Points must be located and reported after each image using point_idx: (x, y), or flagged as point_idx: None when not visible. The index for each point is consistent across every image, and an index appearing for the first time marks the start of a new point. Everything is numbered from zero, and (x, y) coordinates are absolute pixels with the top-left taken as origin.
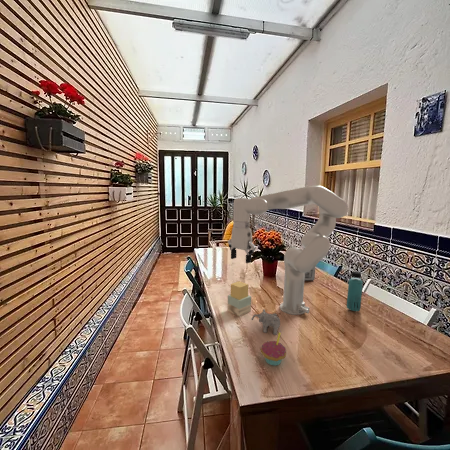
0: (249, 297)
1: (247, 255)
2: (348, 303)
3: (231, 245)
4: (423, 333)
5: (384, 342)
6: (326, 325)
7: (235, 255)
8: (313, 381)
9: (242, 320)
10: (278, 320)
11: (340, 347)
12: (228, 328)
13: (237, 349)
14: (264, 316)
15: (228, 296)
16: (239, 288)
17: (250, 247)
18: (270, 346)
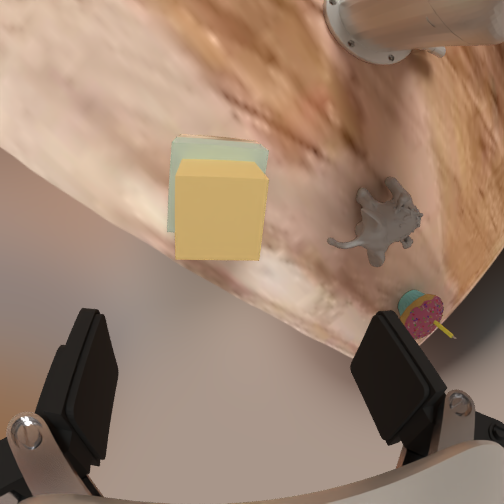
0: (266, 164)
1: (402, 428)
2: None
3: (13, 497)
4: None
5: None
6: (471, 83)
7: (99, 357)
8: (461, 286)
9: (272, 220)
10: (418, 220)
11: (496, 167)
12: (266, 286)
13: (337, 324)
14: (386, 249)
15: (172, 230)
16: (254, 257)
17: (476, 459)
18: (424, 334)
